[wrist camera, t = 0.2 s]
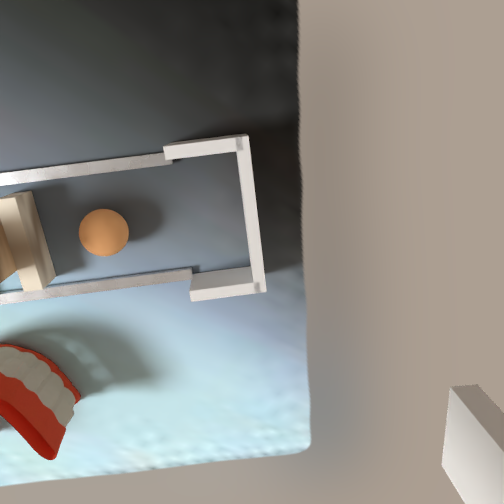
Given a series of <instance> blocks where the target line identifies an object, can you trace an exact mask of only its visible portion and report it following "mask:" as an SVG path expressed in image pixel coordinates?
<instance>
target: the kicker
mask: <svg viewBox="0 0 504 504" xmlns="http://www.w3.org/2000/svg"><path fill="white" fill-rule="evenodd" d="M15 271H17V272H18V275H19V278H20V281H21V284H22V287H23V290H24V292H28V291H36V290H43V289H44V288H45V287H46V286H47V285H48V284H49V283H50V282H51V281H52V280H53V279H54V278H55V277H56V274H55V270H54V267H53V263H52V260H51V257H50V253H49V250H48V246H47V243H46V239H45V236H44V232H43V229H42V226H41V222H40V219H39V215H38V212H37V208H36V205H35V201H34V198H33V195H32V191H25V192H17V193H12V194H9V195H6V196H4V197H1V198H0V283H1V282H2V281H4V280H5V279H6V278H8V277H9V276H10V275H12V274H13V273H14V272H15Z"/></svg>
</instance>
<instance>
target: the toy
mask: <svg viewBox="0 0 504 504" xmlns="http://www.w3.org/2000/svg"><path fill="white" fill-rule="evenodd" d="M80 397H81V395H80V394H79V392H78V391H77V389H76V388H75V387H74V386H72V383H71V382H70V380H69V379H68V378H67V377H66V376H65V374H64V373H63V372H62V371H60V370H59V368H58V367H57V365H56V364H55V363H54V362H52V361H51V360H50V359H47V358H46V357H45V356H43V355H41V354H39V353H37V352H35V351H33V350H29V349H25V348H22V347H18V346H14V345H10V344H4V345H2V344H0V415H1V416H2V417H3V418H5V419H6V420H7V421H8V422H9V423H10V424H11V425H12V426H13V427H14V428H15V429H16V430H17V431H18V432H19V433H20V435H21V436H22V437H23V438H24V439H25V440H26V441H27V442H28V443H29V444H30V446H31V447H32V448H33V449H34V450H35V451H36V452H37V453H38V454H39V455H40V456H42V457H43V458H45V459H47V460H53V459H55V458H56V456H57V453H58V450H59V447H60V444H61V442H62V439H63V436H64V434H65V431H66V428H65V427H66V425H67V424H68V422H69V421H70V419H71V418H72V416H73V414H74V411H73V407H74V404H76V403H77V402H78V401H79V400H80Z"/></svg>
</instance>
